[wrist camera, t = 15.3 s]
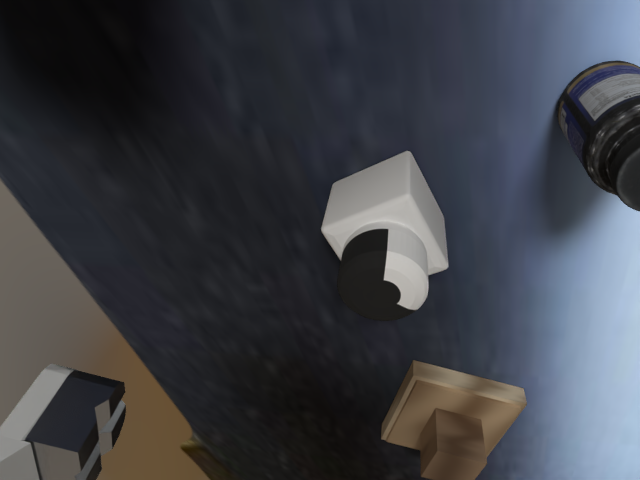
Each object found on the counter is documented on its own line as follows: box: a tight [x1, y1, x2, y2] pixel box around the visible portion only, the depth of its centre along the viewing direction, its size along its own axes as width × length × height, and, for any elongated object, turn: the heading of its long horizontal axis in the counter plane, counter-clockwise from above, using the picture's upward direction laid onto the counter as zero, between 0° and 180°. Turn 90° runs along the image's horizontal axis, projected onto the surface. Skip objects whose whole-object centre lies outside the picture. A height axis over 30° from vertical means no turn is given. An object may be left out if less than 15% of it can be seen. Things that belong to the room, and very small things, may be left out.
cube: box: [420, 408, 487, 480], centre depth 53 cm, size 5×5×5 cm
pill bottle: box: [557, 61, 640, 211], centre depth 31 cm, size 6×6×11 cm
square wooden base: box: [381, 360, 527, 457], centre depth 56 cm, size 12×12×2 cm
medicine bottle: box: [321, 151, 448, 321], centre depth 38 cm, size 7×7×12 cm
